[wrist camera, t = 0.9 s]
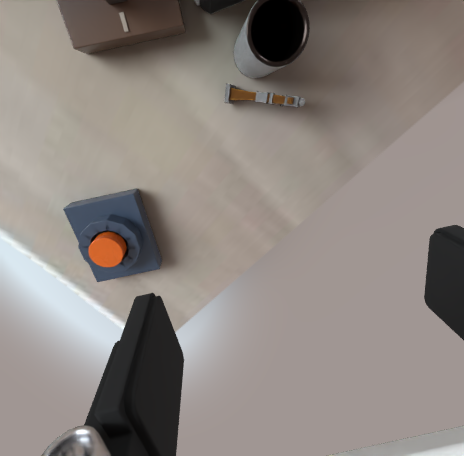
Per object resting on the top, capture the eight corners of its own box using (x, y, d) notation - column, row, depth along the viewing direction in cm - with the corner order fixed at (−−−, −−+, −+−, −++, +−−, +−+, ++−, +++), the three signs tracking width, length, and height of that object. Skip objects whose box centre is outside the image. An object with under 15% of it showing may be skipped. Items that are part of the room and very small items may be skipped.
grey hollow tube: (235, 80, 30) (248, 70, 21) (231, 29, 28) (243, -8, 19) (277, 76, 30) (309, 64, 21) (276, 25, 29) (310, -14, 19)
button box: (71, 202, 34) (55, 214, 30) (137, 188, 34) (129, 198, 30) (103, 272, 38) (92, 290, 34) (162, 260, 38) (157, 276, 34)
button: (89, 235, 32) (82, 242, 30) (120, 228, 32) (116, 235, 30) (101, 262, 33) (95, 270, 32) (131, 256, 33) (127, 263, 32)
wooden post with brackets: (306, 113, 31) (302, 112, 27) (237, 104, 33) (223, 102, 29) (310, 94, 31) (306, 91, 27) (239, 87, 33) (225, 83, 29)
